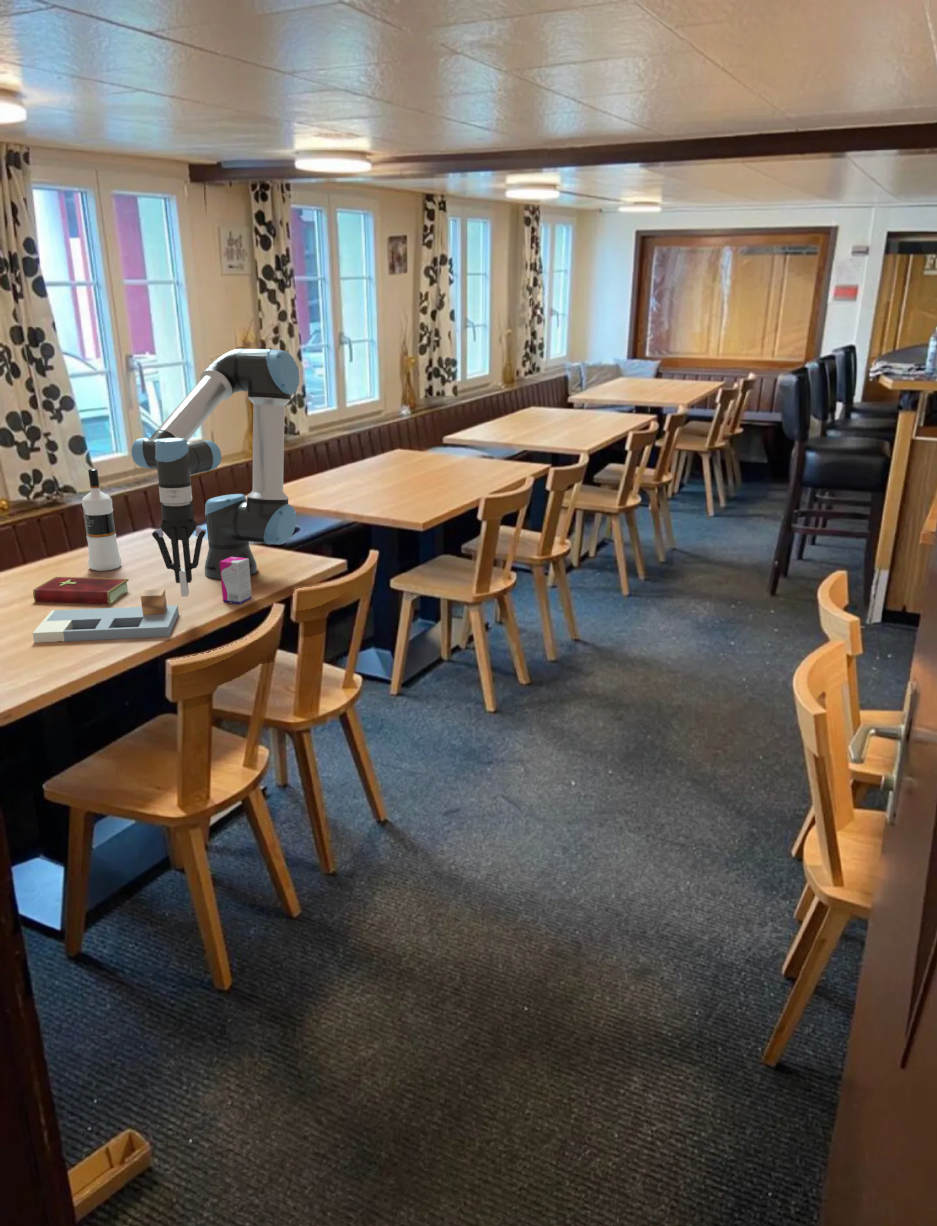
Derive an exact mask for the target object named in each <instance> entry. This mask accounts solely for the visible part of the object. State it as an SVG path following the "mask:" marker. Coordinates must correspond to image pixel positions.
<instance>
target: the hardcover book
mask: <svg viewBox="0 0 937 1226" xmlns="http://www.w3.org/2000/svg"><path fill="white" fill-rule="evenodd" d="M128 582H129V578H114V577H113V578H109V577H106V578H105V577H81V576H78V577H77V576H74V577H73V576H55V577H53V578H51V579H49V580H47V581H46V582H44V583H42V584H40V585H39V586H37V587H35V588H33V589H32V592H33V595H32V596H33V600H34V603H50V602H53V603H55V604H56V603H57V604H58V603H59V604H75V605H76V604H77V603H78V605H79V604H80V605H81V604H83V605H102V604H107V606H111V605H112V603H113V601H114V600H115V601H117V600H118V599H119V598H120V597H122V596H123V594H124V593H125V594H126V593H128V592H129V589H128ZM127 591H128V592H127ZM125 594H124V595H125ZM115 601H114V602H115ZM110 604H111V605H110Z"/></svg>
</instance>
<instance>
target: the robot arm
mask: <svg viewBox="0 0 937 1226" xmlns="http://www.w3.org/2000/svg"><path fill="white" fill-rule="evenodd" d="M299 384H300V371H299V367H298V365H297V362H296V361H295V358H294V357H293V355H291V354H290V352H288V351H286V350H281V349H275V348H274V349H272V348H245V347H244V348H243V347H241V348H240V347H239V348H236V349H232V350H229V351H228V352H226V353H224V354H223V353H222V355H220V356H219V357H217V358H216V359H214V360H213V361H212V362H211V363H210V364H209V365H208V366H207V367H206V368H205V369H204V370H203V371H202V372H201V373H200V376H199V381H198V383H197V384H196V385H195V386H194V387H193V388H192V389H191V391H190V392H188V394H187V395H186V396H185V397H184V399H183V400H182V401H181V402H180V403H179V404H178V405H177V407H175V408H174V410H172V411H171V413H170V414H169V415H168V416H167V418H165V420H164V421H163V422H162V423H161V425H160V426H159V427H158V428H157V429H156V430H155V432H154V433H153V434H152V435H151V436H150V437H143V438H142V437H141V438H137V439H135V440H134V442H133V443H132V446H131V451H130V452H131V458H132V460H133V462H134V464H136V465H137V466H138V467H141V468H147V469H151V470H157V478H158V490H159V491H158V493H159V502H160V503H161V505H160V512H161V523H160V527H159V528H158V529H155V530H154V531H153V532H152V533H151V536H152V538H153V539H154V540H155V541H156V543H157V545H158V548H159V550H160V551H159V552H160V553H161V557H162V559H163V562H164V564H165V567H166V569H168V570H172V571H174V576H175V577H174V579H175V583H176V584H179V585H180V595H181V597H188V596H189V594H190V589H189V584H190V583H192V580H193V575H192V570H194V569H196V568H197V567H198V566H199V562H200V557H201V555H200V554H201V549H202V544H203V539H204V537H205V536H206V534H207V542H208V551H207V555H206V560H205V563H204V575H205V577H207V578H209V579H210V578H211V579H215V580H221V571H220V561H222V560H225V559H227V558H229V557H240V558H249V568H250V577H251V576H253V575H255V574H257V572H258V565H257V562H256V559H255V556H254V554H253V552H252V550H251V547H250V542H252V543H260V544H266V545H269V546H270V545H283V544H285V543H286V542H288V541H289V539H290V538H291V537H292V535H293V534H294V532H295V529H296V525H297V513H296V510H295V508H294V506H292V505H291V504H289V497H288V495H286V493H285V492H284V464H285V463H284V461H285V460H284V459H285V414H286V413H285V412H286V411H285V408H286V405H288V404H289V403H290V401H291V395H293V394H294V393H296V391H298V387H299ZM238 392H247V399H248V400H249V401H250V402H251V404H252V407H253V409H252V411H253V413H252V415H253V416H252V419H253V420H252V422H253V423H252V427H253V428H252V489H251V492H249V493H248V494H247V496H246V495H245V494H243V493H234V494H233V493H231V494H225V495H220V496H219V495H218V496H215V497H212V498H209V499H207V501H206V502H205V506H204V508H205V509H204V511H205V513H204V516H205V522H206V529H205V528H202V527H199V526H198V524H197V521H196V520H195V515H194V514H195V513H194V503H192V501H193V494H192V493H193V490H192V479H191V476H192V475H196V474H200V473H205V472H207V473H208V472H210V471H212V470H214V469H216V468H218V467H219V466H220V464H221V462H222V451H221V449H220V447H219V446H218V444H216V443H215V442H214V441H212V440H199V441H189V440H190V439H191V438H192V437H193V435H194V434H195V433H196V432H197V431H198V429H200V427H201V426H202V424H204V423H205V421H206V420H207V419H208V417H210V415H211V414H212V413H213V412H214V411H215V410H216V408H217V407H218V405H220V403H221V402H222V401H223V400H224V401H225V400H228V399H229V398H231V397H232V395H233V394H235V393H238ZM193 533H195V536H196V541H195V547H194V552H193V559H192V558H191V551H190V549H191V548H190V538H191V537H192V535H193ZM164 534H165V535H166V536H167V538H168V539H169V540H170V543H171V552H172V558H171V555H170V552H169V549H168V546H167V544H166V541H165V539H164ZM179 541H181V545H182V551H183V552H182V553H183V554H182V555H183V562H184V563H183V564H184V568H181V567H182V565H181V558H180V549H179V547H180V546H179V545H180V544H179ZM191 559H192V560H191ZM191 561H192V562H191Z"/></svg>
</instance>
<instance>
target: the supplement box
mask: <svg viewBox="0 0 937 1226" xmlns="http://www.w3.org/2000/svg"><path fill="white" fill-rule="evenodd" d="M220 571H221V579H220V582H221V592H222V594H221V595H222V602H223V601H224V602H223V603H229V602H232V603H231V604H238V605H241V604H244V603H245V602H247V601H250V600H251V599H253V598H252V597H253V596H252V584H251V582H252V581H251V576H250V568H249V558H240V557H229V558H227V559H225V560H222V561H220ZM243 602H244V603H243Z"/></svg>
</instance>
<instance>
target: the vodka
mask: <svg viewBox="0 0 937 1226" xmlns="http://www.w3.org/2000/svg"><path fill="white" fill-rule="evenodd" d="M87 471H88V478H89V486H90V489H89V490H90V492H88V493H87V494H86V495H85V496H83V498H82V499H81V505H82V509H83V510H82V511H83V518H84V525H85V532H86V537H85V538H86V540H87V546H88V547H87V549H88V563H87V564H88V567H89V569H91V570H93V571H95V572H107V571H114V570H116V569H119V568H120V567H121V566H122V563H123V562H122V557H121V556H120V552H119V547H118V542H117V534H116V528H115V521H114V513H113V511H114V508H113V499H112V497H111V496H110V495H109V494H106V493H105V492H103V491H102V490H101V486H100V480H99V473H98V469H96V468H89V469H88V470H87Z"/></svg>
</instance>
